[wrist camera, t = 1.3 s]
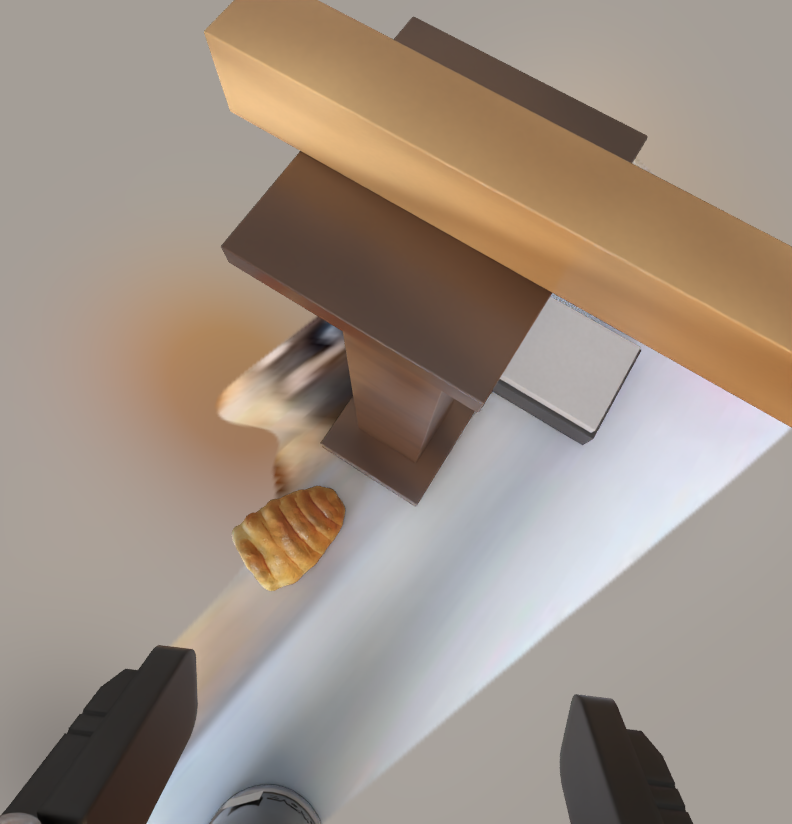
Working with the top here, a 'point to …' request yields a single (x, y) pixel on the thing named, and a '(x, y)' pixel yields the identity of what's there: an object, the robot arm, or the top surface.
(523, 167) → the beech stick
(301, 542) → the pastry
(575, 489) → the top surface
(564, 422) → the scale
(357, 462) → the stand
